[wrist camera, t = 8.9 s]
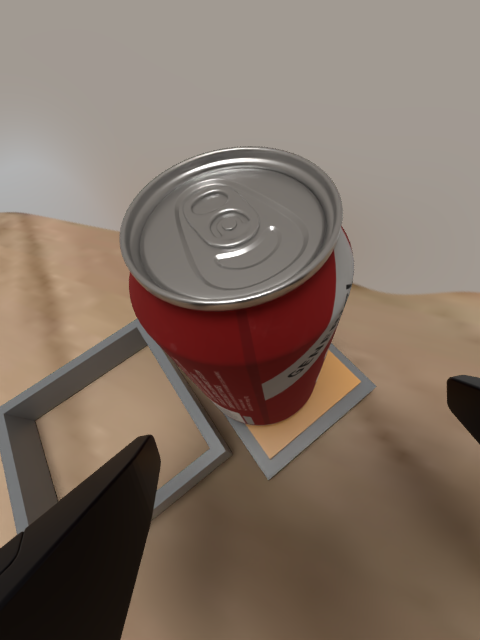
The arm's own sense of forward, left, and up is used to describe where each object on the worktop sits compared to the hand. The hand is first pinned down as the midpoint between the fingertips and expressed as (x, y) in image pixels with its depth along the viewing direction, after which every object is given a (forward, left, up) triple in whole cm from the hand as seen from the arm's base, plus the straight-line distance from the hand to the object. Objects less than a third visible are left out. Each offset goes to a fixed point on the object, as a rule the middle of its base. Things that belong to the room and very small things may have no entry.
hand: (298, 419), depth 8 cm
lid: (+4, -2, -9) cm, 10 cm away
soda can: (+4, -1, -8) cm, 9 cm away
